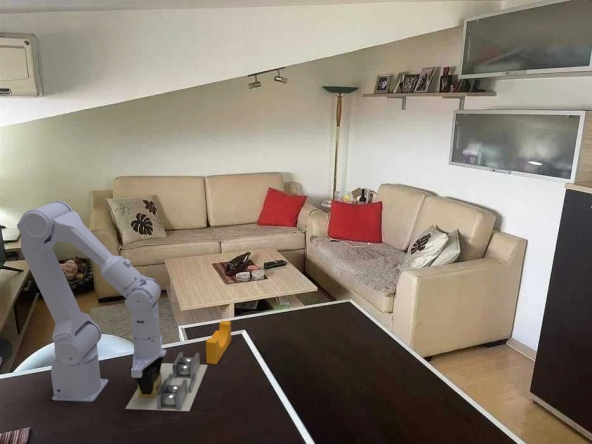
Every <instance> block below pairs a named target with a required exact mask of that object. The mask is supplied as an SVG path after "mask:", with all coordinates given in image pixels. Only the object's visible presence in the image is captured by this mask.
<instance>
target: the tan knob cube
mask: <svg viewBox="0 0 592 444" xmlns="http://www.w3.org/2000/svg"><path fill="white" fill-rule="evenodd" d="M161 386H162V378H161V372H155V374H154V379H153V389H152V393H151V394H150V395H147V394H142V393H141V391H140V388H139V386H138V385H137V389H138V392H139V397H142V398H157V393H158V391H159V390H160V388H161Z"/></svg>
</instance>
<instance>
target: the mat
mask: <svg viewBox="0 0 592 444" xmlns="http://www.w3.org/2000/svg"><path fill="white" fill-rule="evenodd" d="M173 364H174V363H168V362H167V363H166V362H165V363H164V362H162V365H161V370H160V372H161V378H162V384H163V382H164V380H165V379H167V378H168V376H169V374H170V373H172V376H173ZM208 366H209V365H208V364H200V366H199V368H198V370H197V373H196V382H195V384H194V386H193V389H192V391H191V393H187V396H186V398H185V400H184V403H183V405H182V407H181V409H180V410H177V408H176V405H163V407H162V409H157V398H142V397H139V392H138V388H137V389H136V390H135V392H134V393H133V395H132V396H131V398H130V400H129V402H128V404H127V405H126V406H125V409H126V410H148V411H172V412H173V411H174V412H190V410H191V408H192V405H193V402H194V400H195V398H196V395H197V393H198V390H199V389H200V388H199V387H200V386H201V383H202V380H203V377H204V375H205V373H206V370H207V368H208ZM184 379H185V380H187V390H188V386H189V384H190V382H191V379H190V375H178V376H177V378H173V379H172V381H171V383H170V385H181V384H182V382H183V380H184Z"/></svg>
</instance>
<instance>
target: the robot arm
mask: <svg viewBox="0 0 592 444" xmlns="http://www.w3.org/2000/svg"><path fill="white" fill-rule="evenodd" d="M16 227H17V230H18V232H19V233H20V250H21V253H22V256H23V258H24V259H25V262H26V263H27V266H28V268H29V270H30V273H31V274H32V277H33V278H34V280H35V283H36V286H37V288H38V289H39V291H40V293H41V295H42V298H43V300H44V302H45V304H46V306H47V308H48V310H49V313H50V316H51V317H52V319H53V322H54V324H55V325H54V328H53V333H52V337H51V339H52V342H53V343H54V355H55V358H54V360H53V362H52V364H51V370H50V374H51V384H52V390H53V396H52V397H51V400H53V401H67V402H69V401H70V402H89V403H90V402H91V403H92V402H94V401H95V400H96V399H97V398H98V397H99V395H100V393H101V392H102V391H103V389H104V388H105V386H106V385H107V384H108V382H109V379H107V378H101V372H100V360H99V351H98V343H99V342H100V340H101V338H102V330H101V328H100V326H99V325H98V324H97V323H96V322H94V320H93V319H92V317H91V315H90V314H89V313H85V312H82V311H81V308H80V307H79V304H78V302H77V299H76V298H75V295H74V293H73V290H72V289H71V287H70V284H69V281H68V280H67V278H66V276H65V274H64V271H63V268H62V267H61V264H60V263H59V261H58V257H57V256H56V254H55V252H54V249H53V248H54V247H55V245H56V243H69V244H72V245H73V246H74V247H75V248H77V249H78V250H79V251H80V252H82V253H83V254H84V255H85V256H86V257H87V258H88V259H90V260H91V261H93V262H94V263H95V264H96V265H98V266H99V268H100V276H101V277H102V278H103V279H104V280H106V282H108V283H109V285H111V286H112V287H113V288H114V289H115V290H116V291H117V292H119V294H121V295H122V297H124V298H126V299H125V300H124V303H125V306H126V308H127V310H129V311H130V313H131V314H130V315H131V317H130V318H131V327H132V343H133V355H132V364H131V366H130V367H129V374H130V375H131V378H134V379H135V382H136V383H137V387H138V386H139V388H140V391H141V393H142V394H147V395H150V394H151V393H152V389H153V379H154V374H155V372H160V370H161V365H162V363H163V361H164V358H165V356H166V355H167V350H166V349H163V346H162V345H163V343H164V338H163V335H161V330H160V313H159V303H158V300H159V299H160V297H161V293H162V288H161V286H160V284H159V283H158V282H157V280H156V279H155V278H151V277H147V276H146V275H143V274H141V273H140V271H138V270H137V268H135V266H134V265H132V264H131V263H132V261H131V260H130V259H129V258H126V259H125V258H124V257H123V256H122V255H113V254H112V253H111V251H110V250H109V249H107V247H105V245H104V244H103V243H102V242H101V241H100V240H99V239H98V238H97V237H96V236H95V235H94V234H93V232H92V231H91V230H89V228H88V227H87V226H86V225H85V224H84V223H83V221H82V219H81V217H80V214H79V213H78V212H76V211H75V210H73V209H72V207H71V206H70V205H69V204H68V203H66V202H65V201H63V200H54V201H51V202H49V203H47V204H45V205H42V206H39V207H37V208H33V209H30V210H27V211H25V212H24V213H23V214H22V216H21V218H20V219H19V221H18V222H17V224H16Z"/></svg>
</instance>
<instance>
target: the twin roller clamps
mask: <svg viewBox="0 0 592 444" xmlns="http://www.w3.org/2000/svg"><path fill="white" fill-rule="evenodd" d="M200 363H201V362H200V353H199V352H196V353H195V354H194V356H193V357H184V352H183V351H179V352H178V354H177V357H176V358H175V360H174V362H173V363H172V364H173V376H172V373H170V374H169V376H168V378H167V379H165V380H164V382H163V384H162V386H161V388H160V390H159V391H158V393H157V409H162V407H163V405H176V408H177V410H180V409H181V407H182V405H183V403H184V400H185V398H186V396H187V393H191V391H192V389H193V386H194V384H195V382H196V373H197V370H198V368H199V366H200V365H201V364H200ZM178 375H190V379H191V382H190V384H189V386H188V390H187V380H185V379H184V380H183V382H182V384H181V385H170V383H171V381H172V379H173V378H177V376H178Z"/></svg>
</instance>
